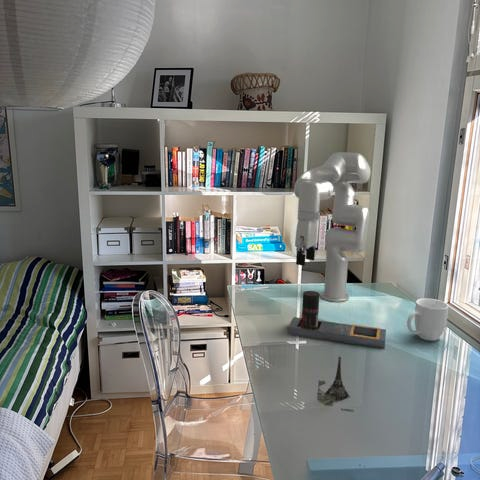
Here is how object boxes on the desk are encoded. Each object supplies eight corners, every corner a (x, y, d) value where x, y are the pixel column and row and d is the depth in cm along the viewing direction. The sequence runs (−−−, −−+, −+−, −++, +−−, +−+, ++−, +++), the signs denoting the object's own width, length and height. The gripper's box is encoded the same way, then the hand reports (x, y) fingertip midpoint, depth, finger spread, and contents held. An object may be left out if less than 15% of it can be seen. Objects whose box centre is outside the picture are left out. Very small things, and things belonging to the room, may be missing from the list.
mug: (416, 346, 168) (419, 311, 165) (397, 333, 178) (400, 300, 176) (451, 341, 173) (455, 307, 170) (430, 329, 183) (434, 297, 180)
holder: (293, 324, 185) (293, 316, 185) (385, 337, 175) (386, 329, 175) (287, 334, 176) (288, 326, 175) (384, 348, 166) (385, 339, 165)
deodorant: (316, 335, 175) (319, 296, 172) (300, 334, 176) (302, 295, 173) (317, 329, 181) (319, 291, 178) (301, 328, 182) (303, 290, 179)
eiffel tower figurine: (318, 381, 144) (320, 339, 142) (352, 385, 143) (356, 343, 140) (316, 408, 130) (318, 363, 127) (354, 413, 128) (358, 367, 125)
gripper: (307, 212, 182) (304, 256, 185) (289, 217, 167) (286, 265, 170) (326, 214, 179) (323, 259, 182) (309, 219, 164) (306, 268, 167)
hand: (305, 262), depth 176 cm, fingers open, 9 cm apart
